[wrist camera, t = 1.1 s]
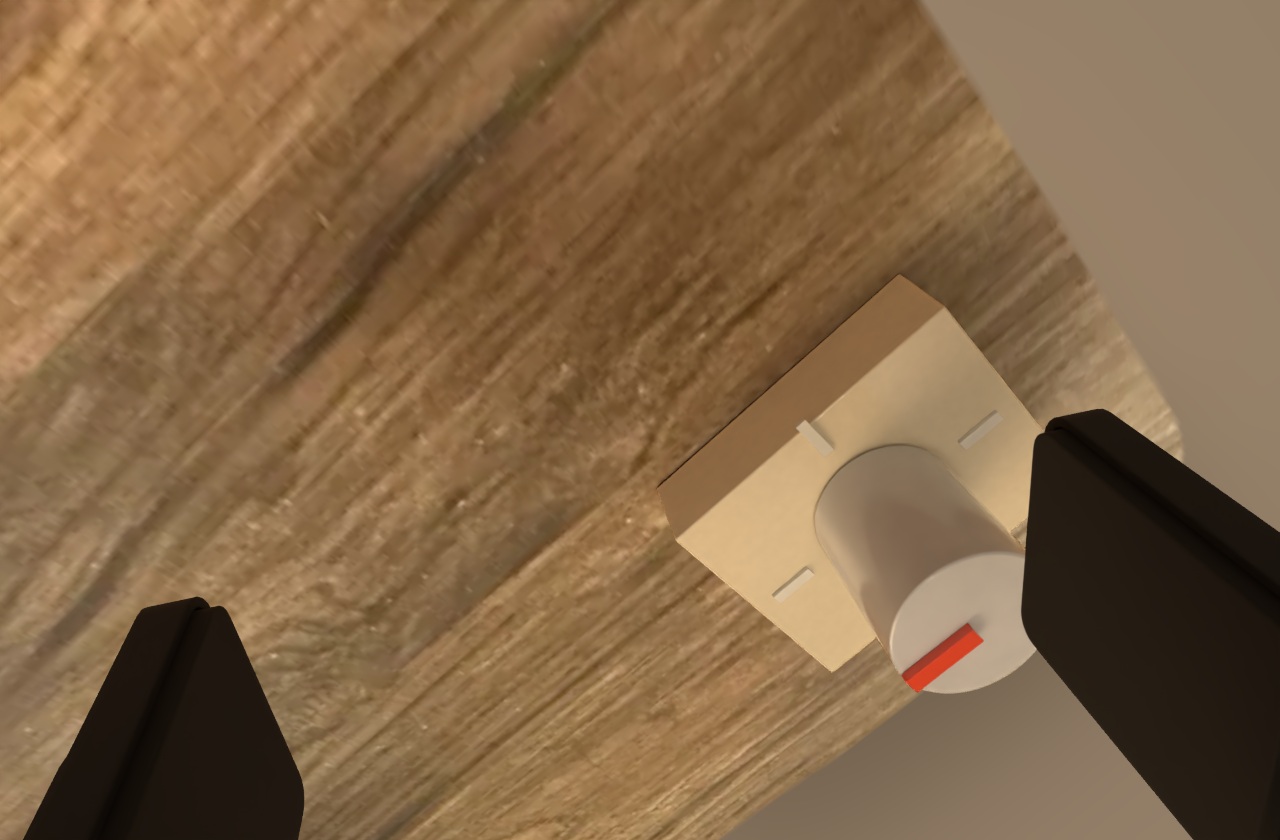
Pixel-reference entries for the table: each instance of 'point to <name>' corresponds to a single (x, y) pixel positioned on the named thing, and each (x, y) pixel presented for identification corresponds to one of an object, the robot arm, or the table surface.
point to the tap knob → (926, 569)
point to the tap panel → (846, 458)
